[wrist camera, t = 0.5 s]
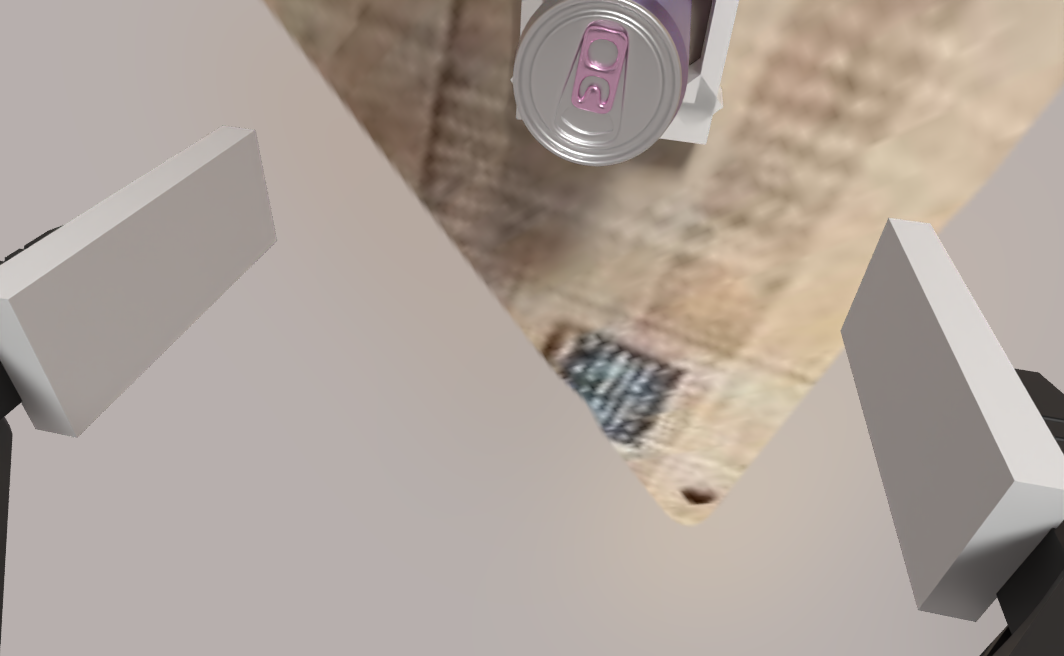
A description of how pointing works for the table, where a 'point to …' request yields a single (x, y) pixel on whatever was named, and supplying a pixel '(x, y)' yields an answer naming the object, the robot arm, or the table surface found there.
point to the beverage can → (602, 75)
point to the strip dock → (690, 74)
